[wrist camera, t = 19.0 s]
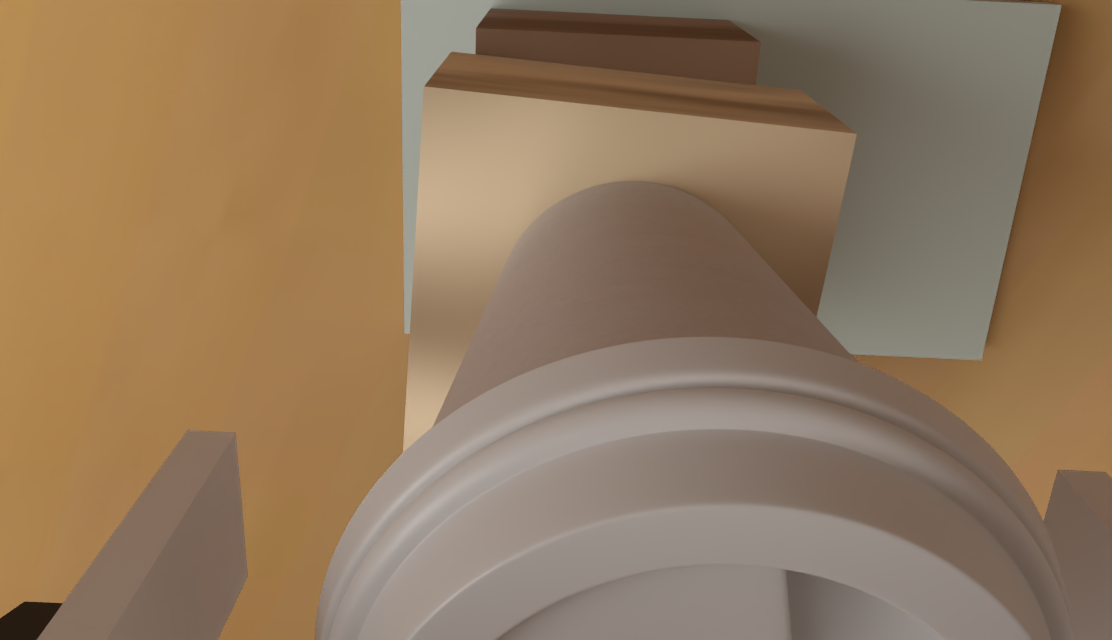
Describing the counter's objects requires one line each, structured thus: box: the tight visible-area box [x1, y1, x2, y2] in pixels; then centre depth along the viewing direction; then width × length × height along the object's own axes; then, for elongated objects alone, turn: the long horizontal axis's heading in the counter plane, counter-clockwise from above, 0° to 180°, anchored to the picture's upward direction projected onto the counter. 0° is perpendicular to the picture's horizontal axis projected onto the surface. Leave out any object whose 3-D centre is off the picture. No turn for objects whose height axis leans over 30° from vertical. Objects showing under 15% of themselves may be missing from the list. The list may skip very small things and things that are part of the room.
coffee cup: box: [315, 181, 1075, 640], centre depth 18 cm, size 10×10×15 cm
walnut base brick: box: [475, 8, 761, 85], centre depth 33 cm, size 12×8×6 cm, turn 177°
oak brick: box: [403, 52, 857, 453], centre depth 28 cm, size 10×10×6 cm
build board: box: [401, 0, 1062, 360], centre depth 37 cm, size 13×22×1 cm, turn 87°
